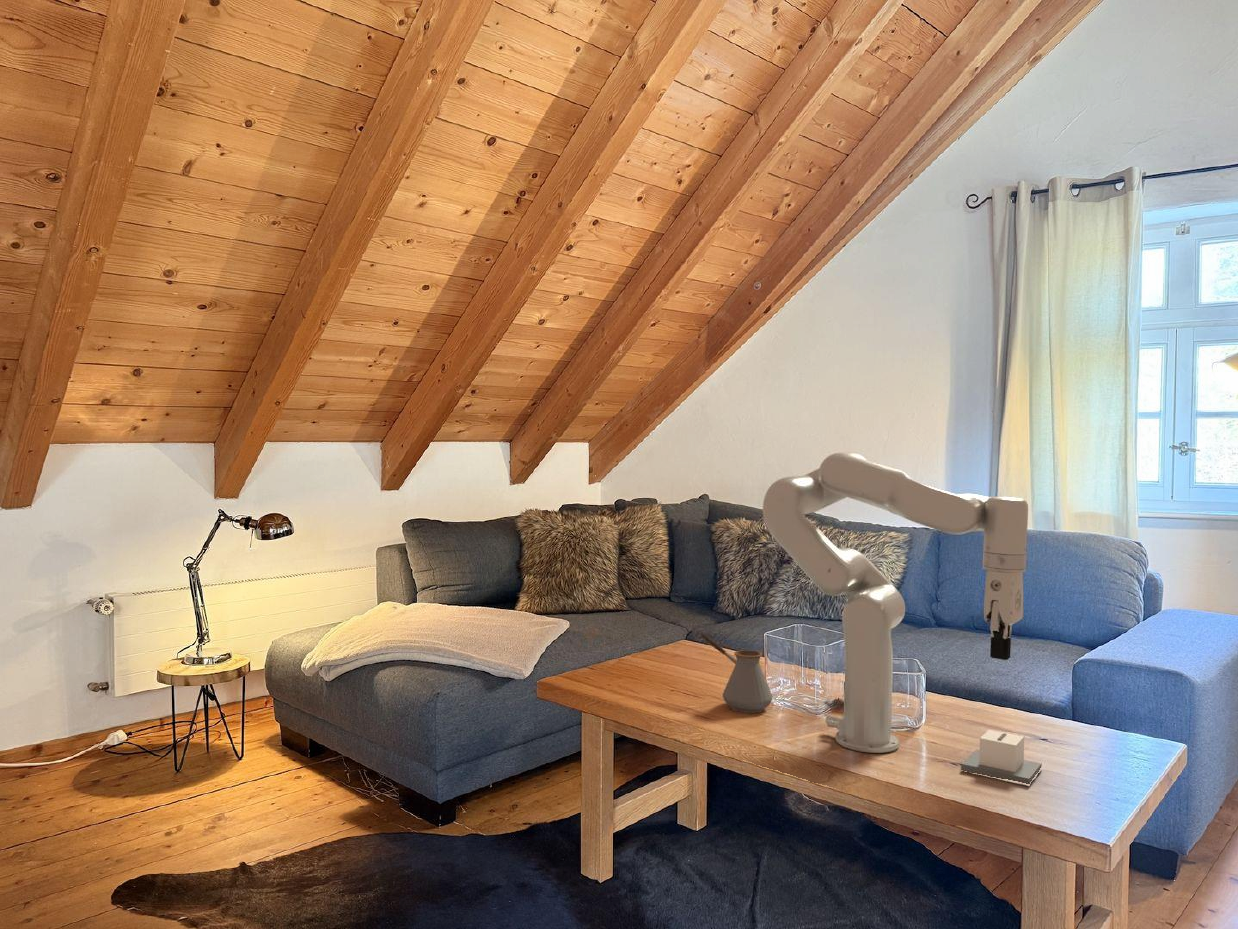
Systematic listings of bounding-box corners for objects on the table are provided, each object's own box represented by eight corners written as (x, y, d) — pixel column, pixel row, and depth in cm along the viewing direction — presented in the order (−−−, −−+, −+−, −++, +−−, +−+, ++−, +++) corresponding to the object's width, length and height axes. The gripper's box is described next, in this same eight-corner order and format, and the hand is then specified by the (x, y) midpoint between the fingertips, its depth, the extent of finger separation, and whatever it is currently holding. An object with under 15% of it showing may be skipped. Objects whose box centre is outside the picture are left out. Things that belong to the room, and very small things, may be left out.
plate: (960, 771, 170) (961, 763, 170) (975, 757, 178) (976, 749, 178) (1028, 787, 163) (1029, 778, 163) (1041, 771, 171) (1041, 763, 171)
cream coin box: (1015, 772, 166) (1015, 744, 166) (979, 764, 170) (979, 737, 169) (1023, 762, 171) (1024, 735, 171) (988, 755, 175) (989, 728, 174)
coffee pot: (782, 709, 208) (783, 645, 208) (749, 719, 200) (750, 652, 200) (714, 689, 224) (715, 629, 224) (682, 697, 217) (683, 635, 216)
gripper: (1014, 568, 162) (1010, 669, 163) (1035, 560, 174) (1031, 654, 174) (971, 563, 167) (967, 662, 167) (994, 556, 178) (990, 648, 179)
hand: (1000, 658), depth 171 cm, fingers closed
